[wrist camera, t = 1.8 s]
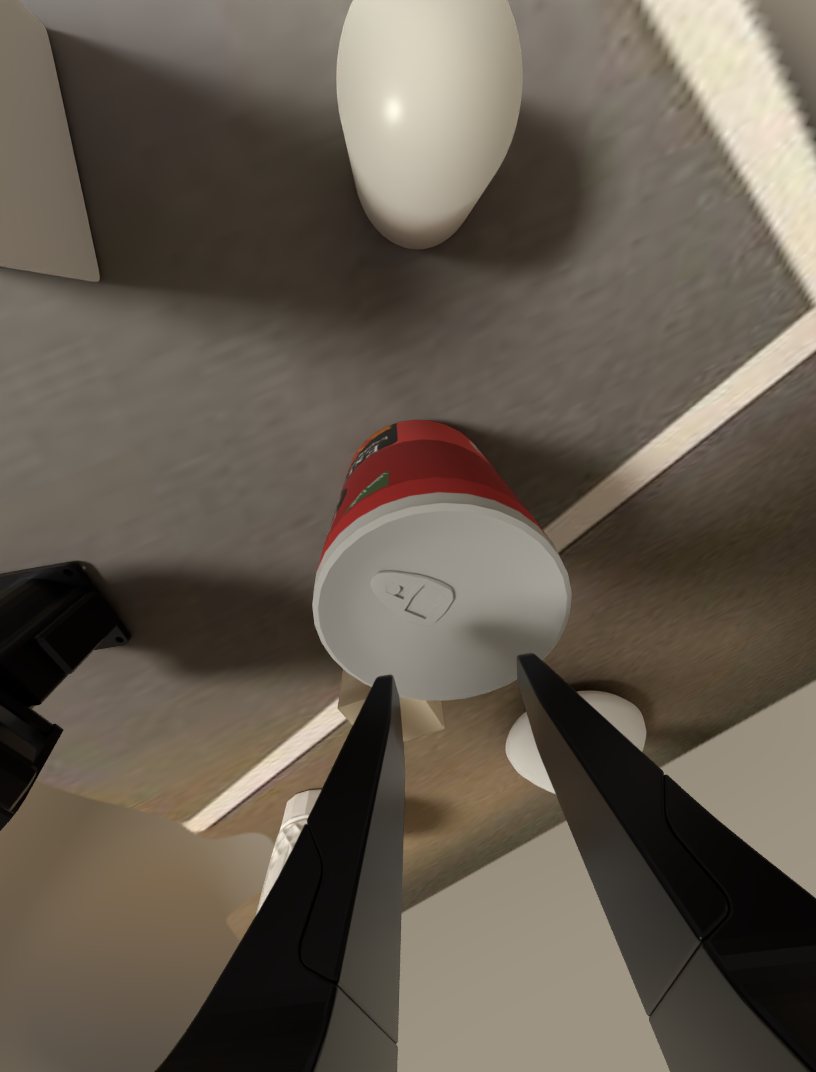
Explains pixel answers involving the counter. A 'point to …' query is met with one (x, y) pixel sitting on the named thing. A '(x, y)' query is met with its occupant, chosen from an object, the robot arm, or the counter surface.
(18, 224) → the milk carton
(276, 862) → the white cup
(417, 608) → the canned food
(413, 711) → the birch block
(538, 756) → the flower in vase
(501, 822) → the counter surface
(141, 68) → the counter surface
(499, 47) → the off-white smooth rounded part
